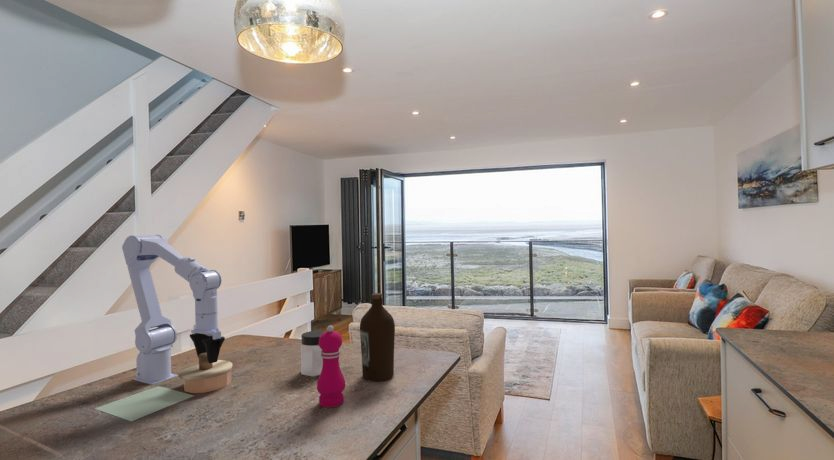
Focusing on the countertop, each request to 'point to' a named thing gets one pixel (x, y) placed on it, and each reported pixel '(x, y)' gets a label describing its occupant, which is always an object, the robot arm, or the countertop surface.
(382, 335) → the olive oil
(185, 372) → the lid
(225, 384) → the bowl
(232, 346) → the countertop surface
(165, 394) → the mat
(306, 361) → the jar
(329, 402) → the pepper mill
